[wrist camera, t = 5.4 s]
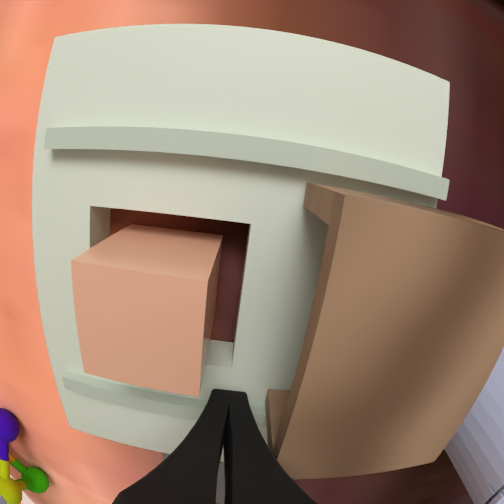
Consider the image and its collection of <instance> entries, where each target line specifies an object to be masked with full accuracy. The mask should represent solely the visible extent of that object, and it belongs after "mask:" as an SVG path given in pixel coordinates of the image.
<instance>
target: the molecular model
mask: <svg viewBox="0 0 504 504" xmlns="http://www.w3.org/2000/svg"><path fill="white" fill-rule="evenodd" d="M18 434H19V425H18V422H17V420H16V418H15V417H14V416H13V415H12V414H11V413H10V412H9V411H8V410H5V409H2V408H0V495H1V496H2V497H3V498H4V499H5V500H6V502H7V503H8V504H20V502H21V500H22V491H23V490H25V489H29V490H31V491H32V492H35V493H43V492H45V491H46V490H47V488H48V487H49V481H48V478H47V476H46V474H45V473H44V472H43V471H42V470H41V469H39V468H36V467H27V468H26V467H25V466H24V465H23V464H22V463H21V462H19V461H18V460H17V459H16V458H15V457H14V456H13V455H12V454H11V453H10V452H9V444H8V443H9V442H12V441H14V440H15V439H16V438H17V436H18ZM9 463H10V464H11V465H12V466H13V467H15V468H16V469H17V470H18V471H19V472H20V473H22V479H18V480H13V479H12V478H10V469H9Z"/></svg>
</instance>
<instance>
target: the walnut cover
mask: <svg viewBox="0 0 504 504" xmlns="http://www.w3.org/2000/svg"><path fill="white" fill-rule="evenodd" d="M303 205H304V206H305V207H306V208H307V209H309V210H310V211H311V212H312V213H314V214H315V215H316V216H317V217H319V218H320V219H321V220H322V221H324V222H325V223H326V224H327V225H329V227H328V232H327V238H326V243H325V248H324V253H323V258H322V263H321V268H320V272H319V277H318V282H317V287H316V291H315V296H314V300H313V304H312V309H311V313H310V317H309V322H308V326H307V330H306V334H305V338H304V342H303V346H302V350H301V354H300V358H299V362H298V366H297V369H296V373H295V377H294V380H293V384H292V388H291V390H277V389H268V391H267V395H266V399H265V410H266V425H267V441H268V447H269V449H270V451H271V452H272V454H273V455H274V457H275V458H276V460H277V461H278V463H279V464H280V465H281V467H282V468H283V469H284V471H285V472H286V473H287V474H288V475H289V477H290V478H291V479H318V478H334V477H346V476H356V475H364V474H372V473H379V472H386V471H392V470H397V469H403V468H408V467H413V466H418V465H422V464H426V463H431V462H434V461H435V460H436V459H437V457H438V456H439V455H440V453H441V452H442V451H443V449H444V448H445V447H446V445H447V444H448V443H449V441H450V440H451V438H452V437H453V436H454V434H455V433H456V431H457V430H458V428H459V427H460V425H461V424H462V422H463V421H464V419H465V417H466V416H467V414H468V413H469V411H470V410H471V408H472V406H473V405H474V403H475V401H476V400H477V398H478V396H479V394H480V393H481V391H482V389H483V387H484V385H485V384H486V382H487V380H488V378H489V376H490V374H491V372H492V370H493V368H494V366H495V364H496V362H497V360H498V358H499V356H500V354H501V352H502V350H503V348H504V229H501V228H498V227H495V226H493V225H490V224H487V223H484V222H481V221H478V220H475V219H472V218H469V217H466V216H463V215H459V214H455V213H452V212H448V211H444V210H440V209H436V208H432V207H428V206H424V205H420V204H415V203H411V202H407V201H402V200H398V199H394V198H389V197H384V196H380V195H375V194H370V193H365V192H360V191H355V190H350V189H345V188H339V187H334V186H328V185H323V184H317V183H311V182H307V185H306V191H305V198H304V204H303Z"/></svg>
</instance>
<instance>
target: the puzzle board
mask: <svg viewBox="0 0 504 504" xmlns="http://www.w3.org/2000/svg"><path fill="white" fill-rule="evenodd" d="M448 108H449V82H448V81H446V80H443V79H441V78H439V77H437V76H434V75H432V74H430V73H427V72H425V71H422V70H420V69H417V68H415V67H412V66H409V65H407V64H404V63H401V62H399V61H396V60H393V59H390V58H387V57H384V56H381V55H378V54H375V53H371V52H368V51H365V50H361V49H358V48H354V47H351V46H347V45H343V44H339V43H335V42H331V41H327V40H322V39H318V38H313V37H308V36H303V35H297V34H292V33H286V32H280V31H273V30H266V29H258V28H249V27H238V26H226V25H208V24H155V25H137V26H125V27H115V28H106V29H99V30H92V31H85V32H79V33H74V34H68V35H63V36H58V37H55V40H54V43H53V47H52V51H51V55H50V59H49V63H48V67H47V71H46V76H45V81H44V86H43V91H42V97H41V102H40V109H39V115H38V123H37V130H36V139H35V150H34V163H33V182H32V231H33V250H34V263H35V274H36V283H37V291H38V299H39V306H40V312H41V318H42V324H43V329H44V334H45V339H46V344H47V349H48V353H49V358H50V362H51V366H52V370H53V374H54V378H55V381H56V385H57V388H58V392H59V395H60V398H61V402H62V405H63V408H64V411H65V414H66V417H67V420H68V423H69V426H70V428H73V429H76V430H79V431H82V432H85V433H88V434H91V435H95V436H98V437H101V438H105V439H108V440H112V441H115V442H119V443H123V444H127V445H131V446H135V447H139V448H143V449H148V450H152V451H157V452H162V453H167V454H171V453H172V452H173V451H174V450H175V449H176V448H177V447H178V445H179V444H180V443H181V442H182V441H183V439H184V438H185V437H186V436H187V434H188V433H189V432H190V430H191V429H192V427H193V426H194V425H195V423H196V422H197V420H198V418H199V417H200V415H201V413H202V412H203V410H204V408H205V406H206V404H207V402H208V400H209V397H210V395H211V391H212V390H213V389H223V390H232V391H241V392H245V393H246V394H247V397H248V401H249V405H250V408H251V411H252V414H253V416H254V419H255V421H256V424H257V426H258V428H259V430H260V432H261V434H262V436H263V438H264V440H265V442H266V444H267V446H268V441H267V425H266V410H265V399H266V395H267V391H268V389H277V390H291V388H292V384H293V380H294V377H295V373H296V369H297V366H298V362H299V358H300V354H301V350H302V346H303V342H304V338H305V334H306V330H307V326H308V322H309V317H310V313H311V309H312V304H313V300H314V296H315V291H316V287H317V282H318V277H319V272H320V268H321V263H322V258H323V253H324V248H325V243H326V238H327V232H328V227H329V225H327V224H326V223H325V222H324V221H322V220H321V219H320V218H319V217H317V216H316V215H315V214H314V213H312V212H311V211H310V210H309V209H307V208H306V207H305V206H304V205H303V204H304V198H305V191H306V185H307V182H311V183H317V184H323V185H328V186H334V187H339V188H345V189H350V190H355V191H360V192H365V193H370V194H375V195H380V196H384V197H389V198H394V199H398V200H402V201H407V202H411V203H415V204H420V205H424V206H428V207H432V208H436V205H437V200H438V199H442V200H446V198H447V192H448V186H449V179H445V178H442V177H441V176H442V169H443V162H444V154H445V145H446V135H447V123H448ZM111 208H117V209H127V210H136V211H146V212H155V213H164V214H173V215H182V216H190V217H199V218H207V219H216V220H224V221H232V222H240V223H247V224H249V230H248V238H247V245H246V253H245V260H244V268H243V275H242V283H241V290H240V298H239V305H238V313H237V320H236V328H235V336H234V342H225V341H217V340H210V344H209V349H208V354H207V359H206V364H205V369H204V374H203V380H202V385H201V390H200V395H199V397H196V396H190V395H183V394H177V393H171V392H166V391H160V390H155V389H150V388H145V387H140V386H136V385H131V384H127V383H122V382H118V381H114V380H110V379H106V378H102V377H98V376H95V375H91V374H87V373H84V368H83V363H82V357H81V351H80V345H79V339H78V332H77V324H76V316H75V308H74V298H73V286H72V272H71V260H72V259H74V258H75V257H77V256H78V255H80V254H82V253H83V252H85V251H87V250H88V249H90V248H91V247H93V246H95V245H96V244H98V243H100V242H101V241H103V240H105V239H106V238H108V237H110V221H111ZM220 461H222V462H224V446H223V449H222V454H221V459H220Z"/></svg>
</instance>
